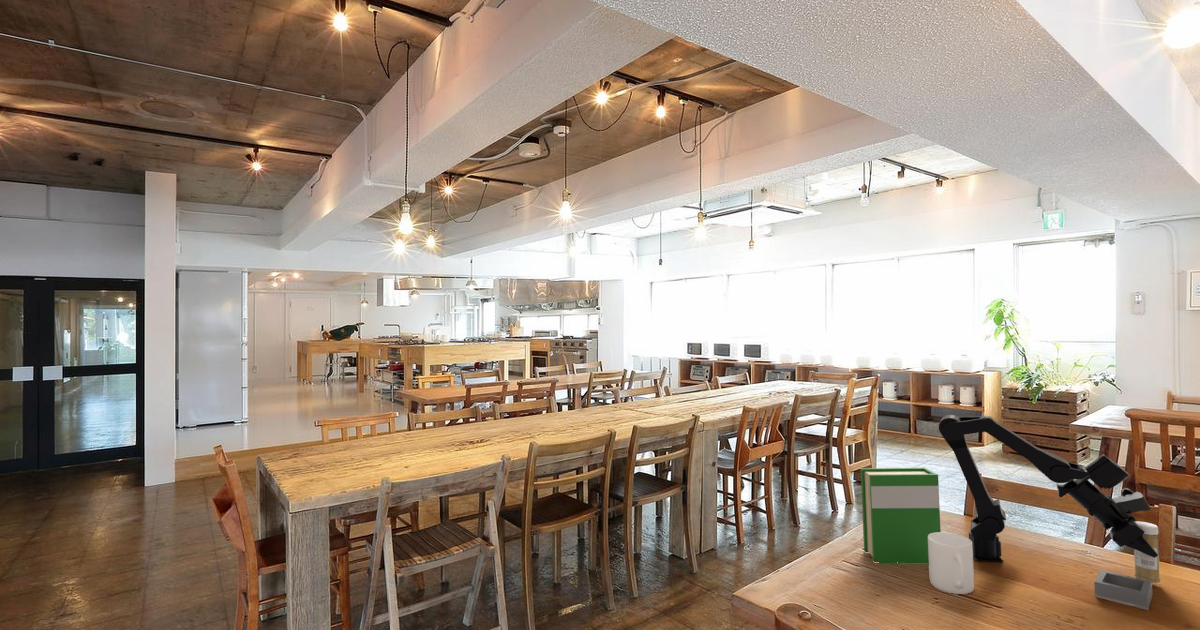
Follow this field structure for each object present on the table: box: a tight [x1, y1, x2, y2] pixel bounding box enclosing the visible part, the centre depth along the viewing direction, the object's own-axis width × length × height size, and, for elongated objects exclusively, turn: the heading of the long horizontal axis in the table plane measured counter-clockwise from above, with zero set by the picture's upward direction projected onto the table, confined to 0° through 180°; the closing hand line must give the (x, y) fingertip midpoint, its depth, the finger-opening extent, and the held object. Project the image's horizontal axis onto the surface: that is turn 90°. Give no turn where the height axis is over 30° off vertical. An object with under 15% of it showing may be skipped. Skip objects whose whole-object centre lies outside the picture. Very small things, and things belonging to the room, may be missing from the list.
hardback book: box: [860, 467, 942, 564], centre depth 159 cm, size 18×7×24 cm, turn 85°
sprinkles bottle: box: [1133, 521, 1161, 584], centre depth 139 cm, size 5×5×14 cm
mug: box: [928, 531, 975, 595], centre depth 140 cm, size 10×12×12 cm
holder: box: [1093, 569, 1154, 611], centre depth 133 cm, size 9×9×4 cm
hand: (1153, 553), depth 138 cm, fingers closed on sprinkles bottle, 4 cm apart
